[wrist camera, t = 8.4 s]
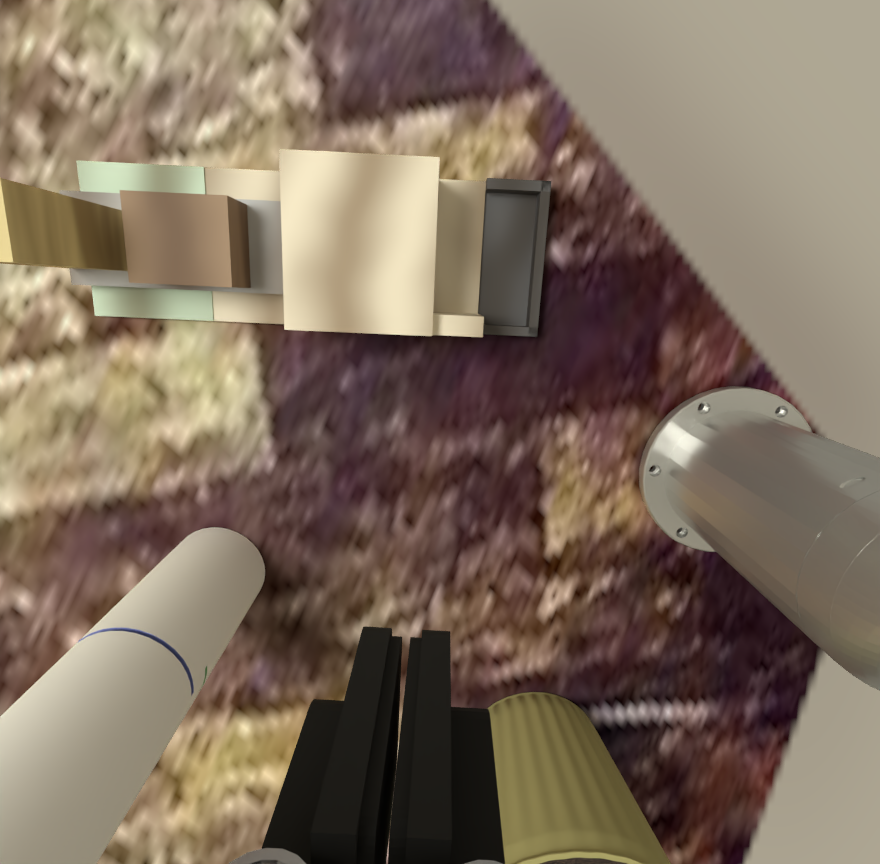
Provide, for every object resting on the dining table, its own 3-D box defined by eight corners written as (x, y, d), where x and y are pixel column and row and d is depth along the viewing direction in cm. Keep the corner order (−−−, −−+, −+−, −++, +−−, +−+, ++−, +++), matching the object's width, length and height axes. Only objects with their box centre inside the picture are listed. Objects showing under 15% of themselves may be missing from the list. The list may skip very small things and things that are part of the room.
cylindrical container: (256, 523, 40) (-16, 870, 16) (272, 605, 42) (47, 1028, 18) (164, 530, 40) (-244, 885, 16) (183, 612, 42) (-158, 1039, 18)
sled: (331, 206, 34) (284, 167, 23) (331, 296, 35) (287, 297, 25) (71, 193, 33) (-91, 149, 23) (83, 284, 35) (-66, 280, 25)
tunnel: (546, 186, 34) (570, 161, 28) (533, 335, 37) (552, 343, 30) (82, 162, 34) (1, 132, 27) (100, 315, 36) (29, 319, 30)
